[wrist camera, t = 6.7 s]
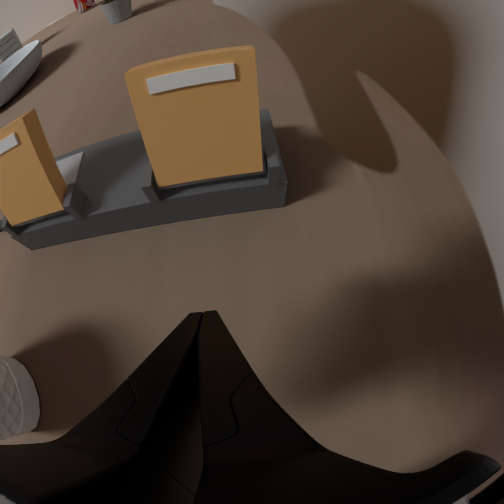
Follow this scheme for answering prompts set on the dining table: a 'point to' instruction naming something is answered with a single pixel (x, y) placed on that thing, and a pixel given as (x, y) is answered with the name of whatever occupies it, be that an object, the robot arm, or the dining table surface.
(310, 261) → the dining table surface
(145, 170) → the power strip
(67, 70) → the dining table surface
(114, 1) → the house plant
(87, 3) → the soda can
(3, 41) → the supplement box
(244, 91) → the orange flat block
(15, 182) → the tan flat block
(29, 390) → the white cup
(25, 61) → the serving bowl
